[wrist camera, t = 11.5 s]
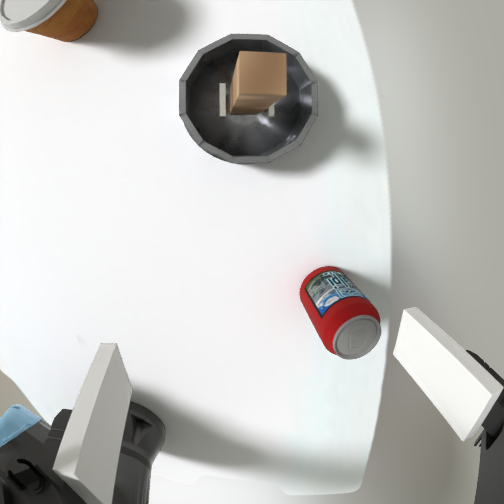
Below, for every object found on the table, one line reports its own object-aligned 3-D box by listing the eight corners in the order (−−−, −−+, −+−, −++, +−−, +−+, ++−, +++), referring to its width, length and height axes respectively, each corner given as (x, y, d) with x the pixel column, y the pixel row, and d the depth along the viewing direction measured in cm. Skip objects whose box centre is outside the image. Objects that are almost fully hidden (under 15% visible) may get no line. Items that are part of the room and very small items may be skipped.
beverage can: (348, 262, 39) (393, 306, 28) (342, 306, 41) (379, 358, 30) (299, 265, 38) (332, 314, 27) (296, 311, 40) (323, 369, 29)
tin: (182, 166, 32) (176, 169, 27) (182, 48, 27) (176, 32, 22) (305, 163, 34) (321, 167, 29) (304, 50, 29) (319, 36, 24)
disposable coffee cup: (88, 57, 26) (40, 29, 15) (34, 50, 24) (-20, 29, 13) (123, -7, 23) (92, -53, 12) (66, -10, 21) (25, -46, 10)
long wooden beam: (229, 114, 30) (239, 93, 17) (229, 88, 29) (239, 51, 16) (257, 115, 30) (286, 95, 17) (257, 89, 29) (286, 53, 16)
